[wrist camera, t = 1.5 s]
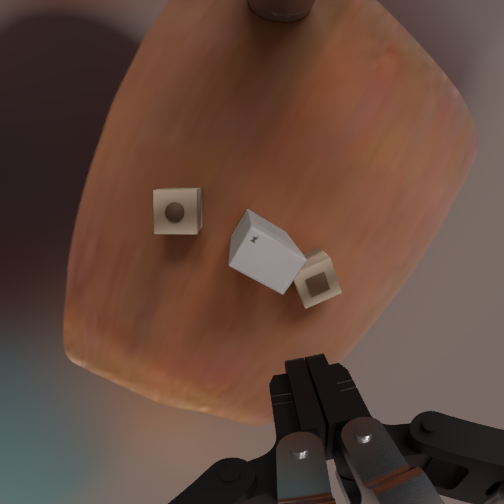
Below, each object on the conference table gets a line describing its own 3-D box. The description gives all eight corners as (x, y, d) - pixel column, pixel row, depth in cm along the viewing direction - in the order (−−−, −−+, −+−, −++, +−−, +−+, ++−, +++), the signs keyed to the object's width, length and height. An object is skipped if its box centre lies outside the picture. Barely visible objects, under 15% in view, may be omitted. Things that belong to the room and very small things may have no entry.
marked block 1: (164, 187, 34) (152, 190, 29) (202, 187, 34) (196, 189, 29) (165, 226, 35) (153, 234, 30) (202, 226, 36) (196, 234, 31)
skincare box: (230, 236, 36) (225, 265, 24) (247, 207, 35) (251, 223, 24) (270, 259, 37) (283, 297, 26) (287, 232, 36) (309, 258, 25)
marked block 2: (285, 261, 37) (292, 275, 32) (319, 246, 37) (331, 258, 32) (297, 292, 39) (305, 309, 34) (330, 278, 38) (342, 293, 33)
